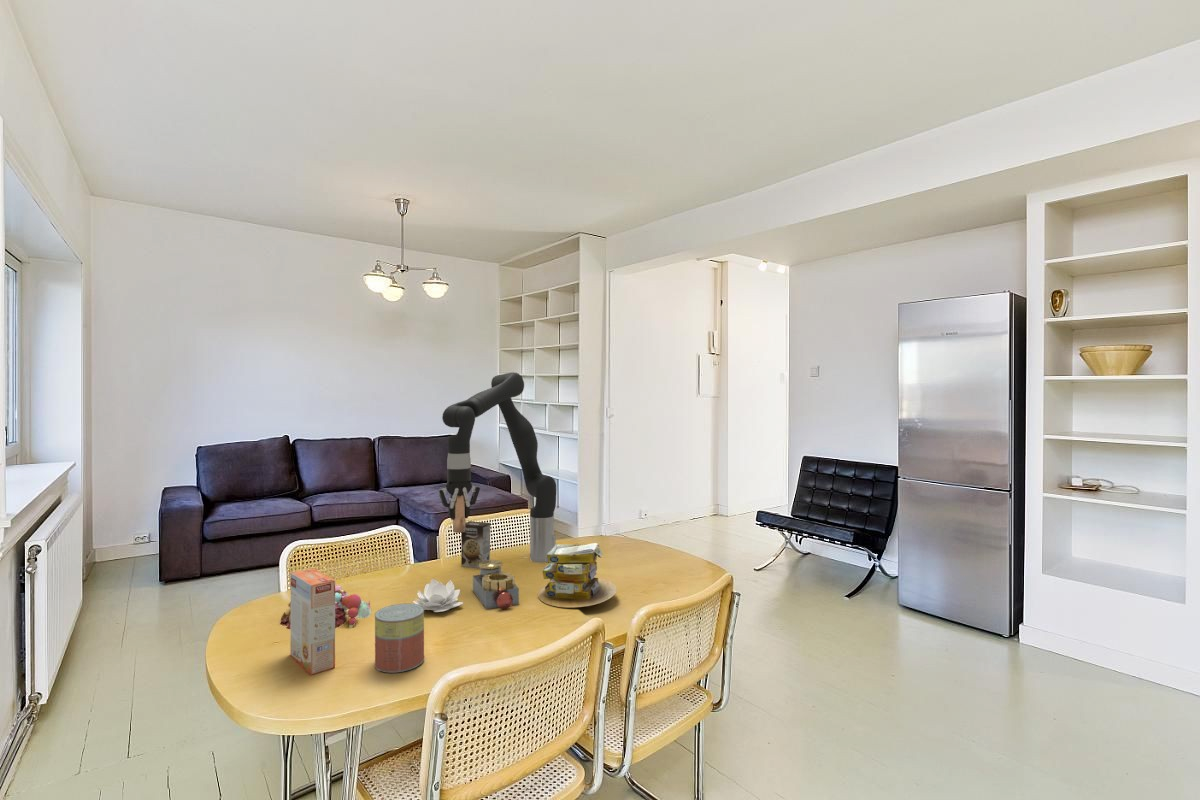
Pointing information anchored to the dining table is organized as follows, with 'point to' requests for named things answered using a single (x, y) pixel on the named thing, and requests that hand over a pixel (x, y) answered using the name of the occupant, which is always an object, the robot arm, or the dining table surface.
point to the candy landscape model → (340, 609)
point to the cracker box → (313, 620)
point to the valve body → (495, 586)
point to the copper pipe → (459, 515)
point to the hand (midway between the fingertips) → (459, 518)
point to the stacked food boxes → (574, 577)
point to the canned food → (399, 637)
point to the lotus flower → (438, 596)
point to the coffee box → (475, 544)
